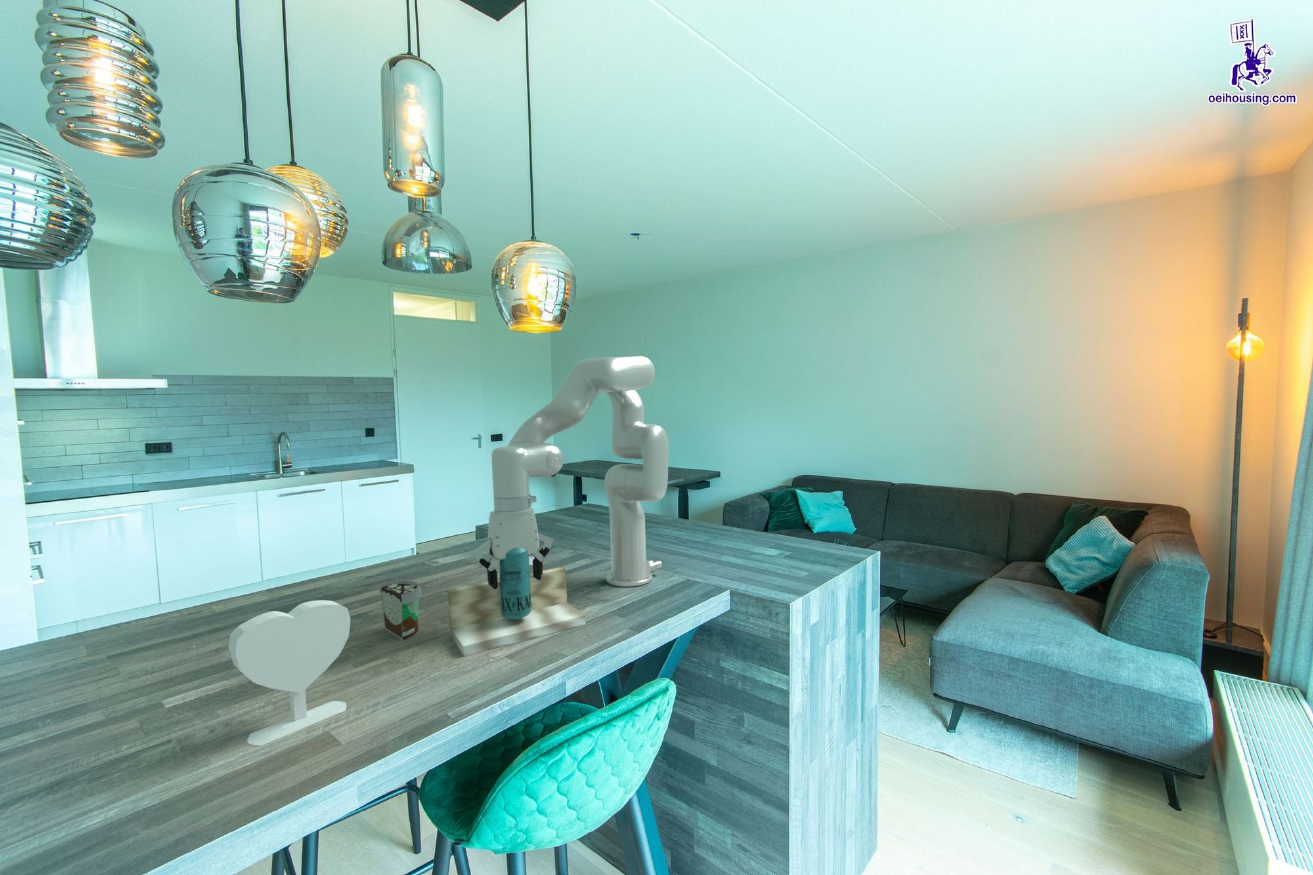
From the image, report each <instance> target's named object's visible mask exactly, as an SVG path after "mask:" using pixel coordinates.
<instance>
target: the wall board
mask: <svg viewBox="0 0 1313 875" xmlns="http://www.w3.org/2000/svg"><path fill="white" fill-rule="evenodd" d="M566 572H567V570H566V568H565V567H563V566H560V567H555V568H550V569H545V570H544V571H543V574H542V575H541V580H537V579H536V578H534V577H533V573H530V584H531V585H530V586H531V587H530V590H531V591H530V594H531V601H532V603H531V604H532V605H531V607H532V608H531V612H530V614H529V615H527V616H525V617H523V618H518V619H506V618H504V617H503V616H502V614H501V613H502V610H501V605H500V603H501V596H500V594H501V593H500V592H501V590H500V584H499V581H500V578H499V579H497V582H498V588H497V589H493V588H492V587H491V586H490V585H489V584H488V581H485V582H478V583H473V584H470V585H469V584H468V585H465V586H459V587H455V588H449V589H447V603H448V604H447V605H448V607H447V608H448V621H449V622H448V623H449V635H450V636H449V637H451V639H452V641H453V642H454V644H455V645H456V647H457V648H458V650H459V651H460V653H461V654H462V656H463V657H467V656H470V655H474V654H479V653H481V652H485V651H489V650H490V651H491V650H493V649H497V648H501V647H505V646H508V645H513V644H517V643H521V642H524V641H528V640H533V639H535V638H539V637H544V636H547V635H551V634H555V633H557V632H562V631H565V630H570V629H573V628H578V627H582V626H585V625H586V623H587V622H586V621H587V620H586V615H585V613H583V612H582V611H579V610H578V609H577V608H575V607H574V606H572V605H571V604H570V603H568V593H567V573H566Z"/></svg>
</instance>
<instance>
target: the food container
mask: <svg viewBox="0 0 1313 875" xmlns="http://www.w3.org/2000/svg"><path fill="white" fill-rule="evenodd" d="M379 594H380V595H381V603H382V604H381V605H382V615H383V624H384V630H385V631H387V632H389V633H391V634H392V635H394V636H395V637H397V638H398V639H400V640H401V641H405V640H408V639H410V638H412V637H413V636H415V635H416V634H418V631H419V616H420V613H419V612H420V610H419V609H420V606H419V605H420V603H419V602H420V598H421V597H422V595H423V592H422V588H421V586H420V584H419V583H418V582H416V581H413V580H396V581H388V582H383V583H380V586H379Z"/></svg>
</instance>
